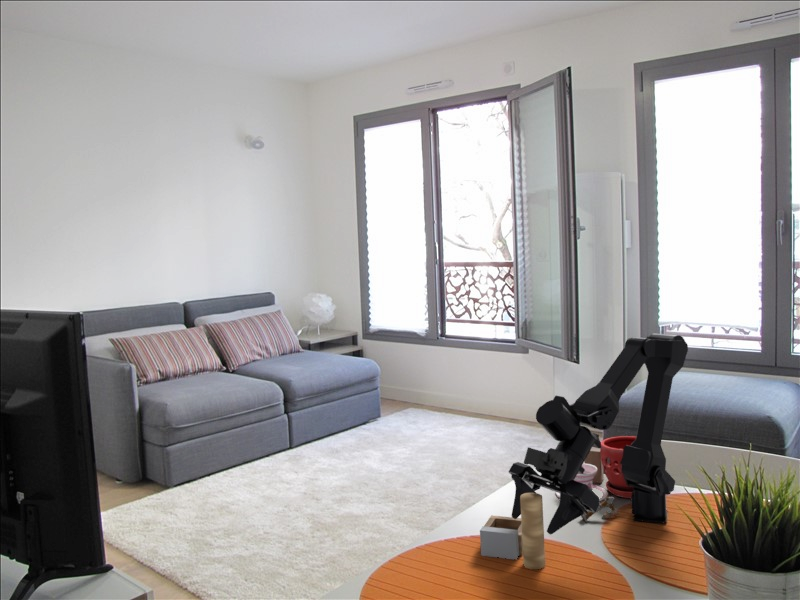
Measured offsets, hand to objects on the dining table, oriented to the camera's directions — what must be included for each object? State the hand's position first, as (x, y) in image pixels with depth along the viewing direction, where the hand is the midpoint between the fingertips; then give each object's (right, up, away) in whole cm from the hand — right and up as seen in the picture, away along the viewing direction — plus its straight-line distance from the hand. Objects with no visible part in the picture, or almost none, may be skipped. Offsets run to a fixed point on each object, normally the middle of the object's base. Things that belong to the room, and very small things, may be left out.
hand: (530, 525), depth 127 cm
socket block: (-3, -7, +10) cm, 13 cm away
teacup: (+19, -4, +35) cm, 40 cm away
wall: (-5, -8, +5) cm, 10 cm away
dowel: (+1, -8, +1) cm, 8 cm away
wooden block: (+24, -3, +43) cm, 49 cm away
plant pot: (+30, -4, +34) cm, 46 cm away
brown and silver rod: (+18, -5, +20) cm, 28 cm away
